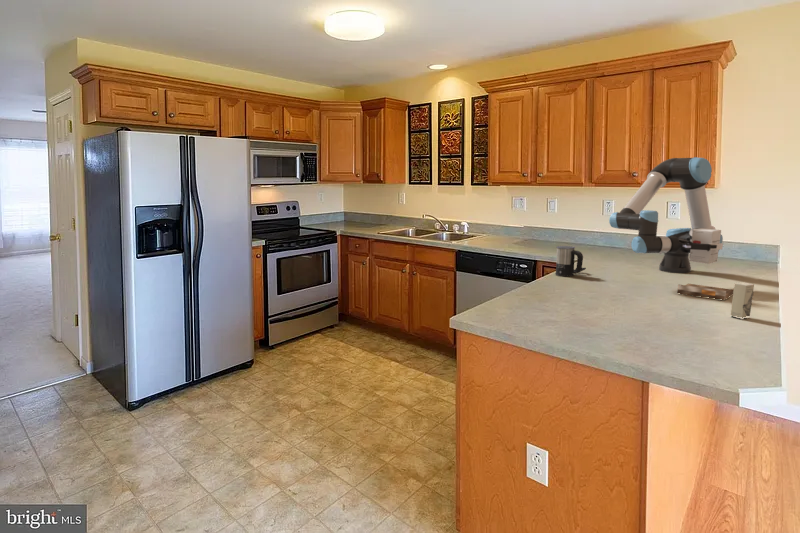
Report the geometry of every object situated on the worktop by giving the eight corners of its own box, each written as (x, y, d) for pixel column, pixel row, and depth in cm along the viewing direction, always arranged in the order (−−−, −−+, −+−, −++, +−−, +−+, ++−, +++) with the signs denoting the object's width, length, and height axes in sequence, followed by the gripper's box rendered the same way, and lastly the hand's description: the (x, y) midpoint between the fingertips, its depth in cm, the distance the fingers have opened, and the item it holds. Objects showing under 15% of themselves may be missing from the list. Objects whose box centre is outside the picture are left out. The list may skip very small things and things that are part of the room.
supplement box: (688, 261, 234) (691, 229, 231) (697, 259, 239) (700, 227, 236) (709, 264, 226) (713, 231, 224) (717, 261, 232) (721, 229, 229)
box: (742, 320, 182) (746, 285, 180) (729, 317, 186) (733, 283, 183) (750, 318, 184) (755, 284, 182) (737, 315, 188) (742, 281, 186)
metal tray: (676, 293, 221) (677, 284, 220) (687, 287, 232) (688, 279, 232) (724, 301, 209) (725, 291, 208) (733, 294, 220) (734, 285, 219)
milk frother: (553, 275, 260) (554, 247, 257) (559, 270, 273) (560, 243, 271) (581, 278, 253) (583, 249, 250) (586, 272, 267) (588, 245, 264)
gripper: (652, 248, 243) (695, 248, 244) (682, 257, 219) (729, 256, 220) (653, 233, 241) (697, 233, 242) (683, 240, 218) (731, 239, 219)
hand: (712, 244), depth 231 cm, fingers closed on supplement box, 12 cm apart
